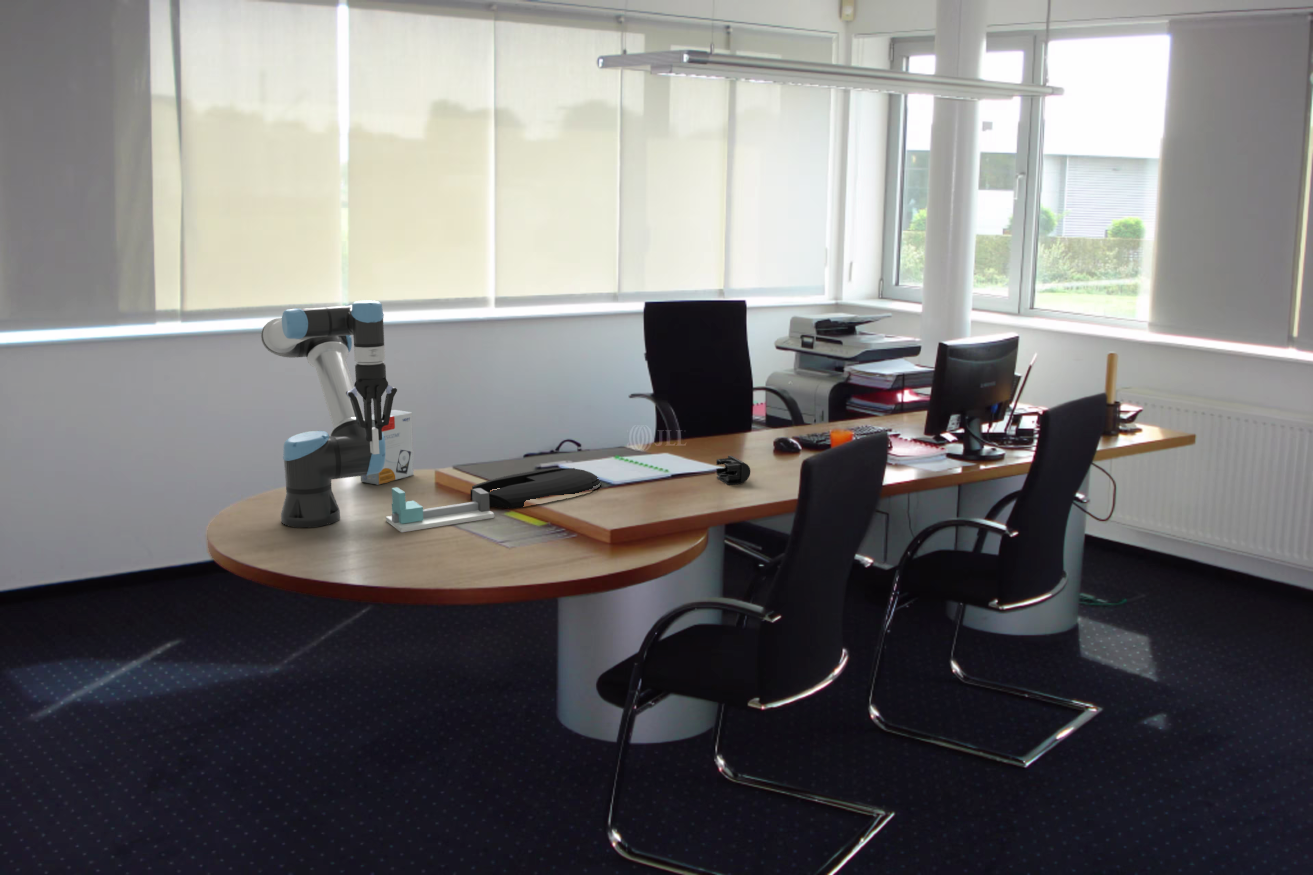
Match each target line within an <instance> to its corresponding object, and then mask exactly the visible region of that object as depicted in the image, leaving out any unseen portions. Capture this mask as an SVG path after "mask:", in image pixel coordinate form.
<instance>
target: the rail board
mask: <svg viewBox="0 0 1313 875" xmlns="http://www.w3.org/2000/svg"><path fill="white" fill-rule="evenodd" d="M471 489H472V488H471ZM472 498H473V499H472V501H470V502H469V501H467V502H464V503H455V504H448V505H444V506H442V505H441V506H436V507H429V508H423V521H416V522H410V523H403V524H401V523H400V522H399V514H397V513H394V514H391V515H387V516H385V521H386V522H387V523H388V524H389V525H391V526H392V527H394V528H395V529H396V530H397V531H399V532H400V533H405V532H411V531H418V530H425V529H430V528H437V527H442V526H443V527H444V526H445V527H446V526H449V525H455V524H463V523H469V522H475V521H481V520H482V521H483V520H487V519H494V518H495V513H494V512H493V511H491V509H490V506H489V493H488V492H487V491H485V490H483V489H481V488H477V489H472Z"/></svg>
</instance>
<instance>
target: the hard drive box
mask: <svg viewBox="0 0 1313 875" xmlns="http://www.w3.org/2000/svg"><path fill="white" fill-rule="evenodd" d="M381 412H382V415H383V411H381ZM372 426H373V427H375V422H374V413H372ZM382 433H383V434H384V438H385V447H386V455H385V464H384V467H383V469H382V471H381V472H379V473H376V474H370V475H368V476H366V475H364V476H360V482H363V483H367V484H372V485H376V486H378V485H382V484H387V483H390V482H393V481H398V480H400V479H405V478H408V477H411V476H414V474H415V473H414V446H413V445H414V442H413V441H414V440H413V439H414V438H413V412H412V411H404V410H399V409H391V414H390V420H389V424H388V425H385V426H383V428H382Z"/></svg>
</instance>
